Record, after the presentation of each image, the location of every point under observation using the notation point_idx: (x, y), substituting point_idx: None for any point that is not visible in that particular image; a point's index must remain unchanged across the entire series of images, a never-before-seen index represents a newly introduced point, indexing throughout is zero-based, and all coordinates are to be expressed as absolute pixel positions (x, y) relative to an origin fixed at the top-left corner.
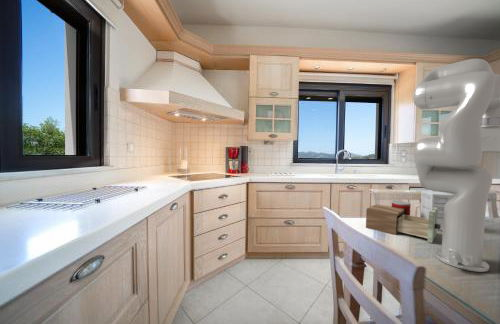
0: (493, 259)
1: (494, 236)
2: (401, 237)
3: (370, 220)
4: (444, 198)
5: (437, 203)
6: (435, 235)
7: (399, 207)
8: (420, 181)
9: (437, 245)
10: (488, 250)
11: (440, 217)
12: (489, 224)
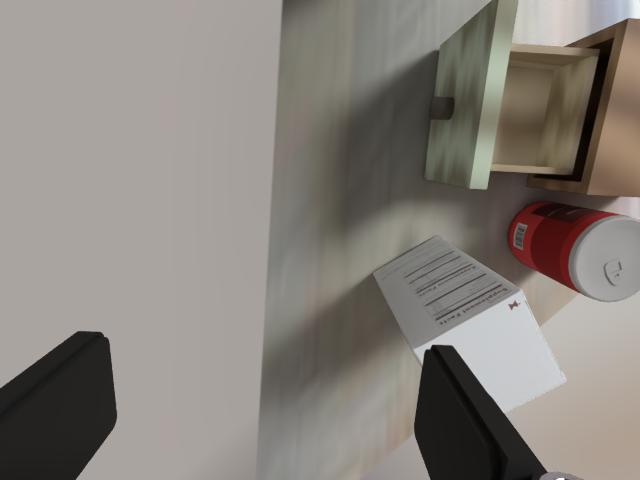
0: (284, 31)
1: (266, 315)
2: (532, 37)
3: None
4: (452, 311)
5: (468, 282)
6: (428, 148)
7: (606, 212)
8: None
9: (422, 42)
10: (291, 124)
11: (428, 264)
12: (270, 464)
